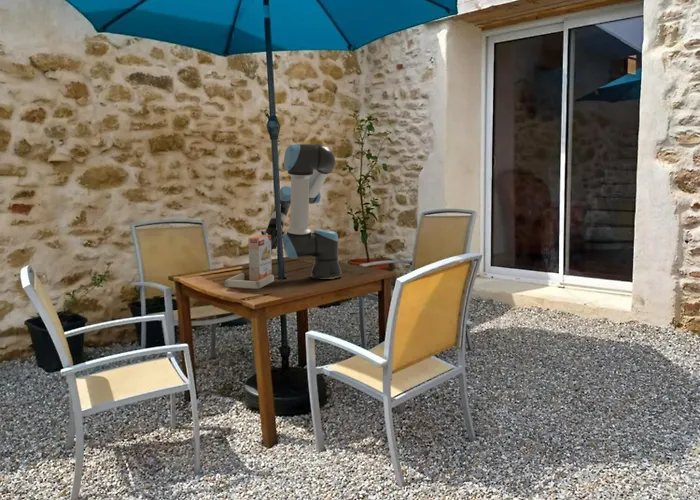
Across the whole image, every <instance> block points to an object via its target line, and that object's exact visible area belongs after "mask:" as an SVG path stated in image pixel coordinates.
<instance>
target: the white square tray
mask: <svg viewBox="0 0 700 500" xmlns="http://www.w3.org/2000/svg"><path fill="white" fill-rule="evenodd" d="M274 281H275V276H274V274H272V275H269V276H267V277H265V278H263V279H261V280H259V281H249V280H245V273H243V272H242V273H238V274H236V275H234V276H231V277H229V278H227V279H225V280H224V287H226V288H240V289H241V288H243V289H257V290H258V289H262V288H263V287H264V286H267V285H269V284H271V283H273V282H274Z"/></svg>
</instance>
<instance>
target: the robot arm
mask: <svg viewBox="0 0 700 500" xmlns="http://www.w3.org/2000/svg"><path fill="white" fill-rule="evenodd" d="M283 166H284V169H285V171H287V174H288V175H289V177H290V186H289V185H284V186H282V187H281V188H280V189H279V191H280V204H281V225H282V229H284V224H285V221H286V219H287V216H288V212H289V209H290V217H289V218H290V221H289V223H290V225H289V227H288V228H287V229H286V233H285V232H284V231H282V244H283V249H284V252H285V255H286V257H288V258H289V259H301V258H314V263H313V265H312V270H311V273H310V277H314V278H329V277H335V276H339V275H341V274H342V275H343V273H342V272H343V271H342V269H341V265H340V264H339V263H340V262H339V235H338V233H337V232H336V231H333V230H328V229H326V230H325V229H314V230H313V232H312V229H310V227H309V214H310V213H309V212H310V211H309V210H310V209H309V208H310V205H312V204H313V205H314V204H318V203H320V202H321V195H322V194H321V189H322V187H323V185H324V184H325V181H326V180H327V177H328V175H329V174H331V173H332V172H333V170H334V169H335V166H336V157H335V154H334V153H333V151H332V150H331V148H329V147H328V146H326V145H324V144H319V143H317V144H315V143H313V144H311V143H310V144H309V143H308V144H307V143H296V144H289V145H288V146H287V147H286V149H285V152H284V156H283ZM260 233H261V234H260V235H271V252H272V251H273V250H276V249H277V248H278V246H277V237H278V236H277V230H276V210H275V206H274V207H273V210H272V213H271V216H270V219H269V222H268V224H267V228H266V229H265V230H264V231H263V230H262V231H260Z"/></svg>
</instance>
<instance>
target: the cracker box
mask: <svg viewBox="0 0 700 500" xmlns="http://www.w3.org/2000/svg"><path fill="white" fill-rule="evenodd" d="M272 265H273V264H272V251H271V235H268V234H266V235H262V234H259V235H255V236H252V237H248V277H249V280H248V281H259V280H261V279H263V278H265V277H267V276H269V275H273V274H272Z"/></svg>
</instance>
